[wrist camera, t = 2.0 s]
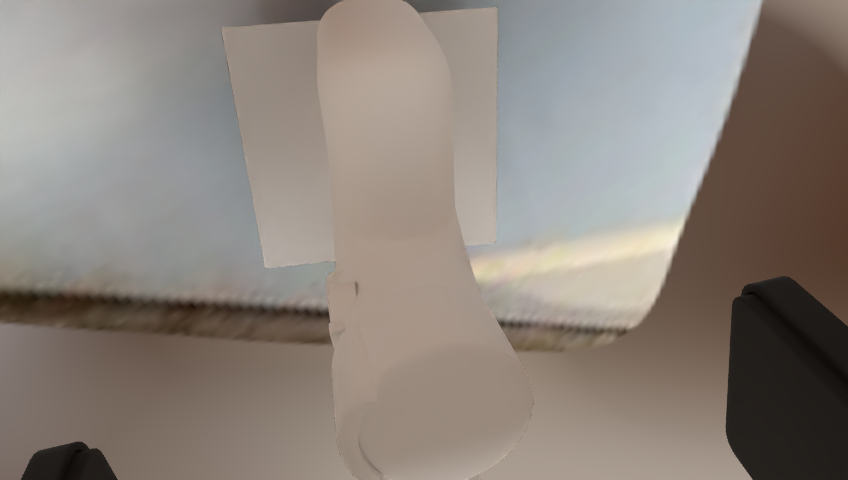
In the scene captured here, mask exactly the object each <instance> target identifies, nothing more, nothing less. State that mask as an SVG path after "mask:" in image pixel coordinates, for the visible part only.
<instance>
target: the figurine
mask: <svg viewBox="0 0 848 480" xmlns="http://www.w3.org/2000/svg"><path fill="white" fill-rule="evenodd" d="M221 31H222V37H223V42H224V47H225V53H226V58H227V64H228V69H229V74H230V80H231V85H232V91H233V96H234V101H235V107H236V112H237V118H238V123H239V128H240V134H241V139H242V145H243V150H244V155H245V161H246V166H247V172H248V177H249V183H250V188H251V193H252V199H253V204H254V210H255V215H256V220H257V226H258V231H259V237H260V242H261V247H262V253H263V258H264V264H265V268H273V267H282V266H291V265H300V264H309V263H318V262H327V261H335V266H336V270H335V271H333V272H331V273H329V275H328V276H327V278H326V289H327V299H328V308H329V315H330V322H331V323H329V333H330V337H331V341H332V345H333V348H334V349H335V350H334V355H333V359H332V382H333V395H334V407H335V428H336V436H337V437H336V440H337V446H338V450H339V454H340V456H341V458H342V460H343V461H344V463H345V465H346V466H347V468H348V469H349V470H350V472H351V473H352V475H353V476H355V477H356V478H357V479H359V480H481V479H480V475H479V474H480V473H482V472H484V471H486V470H488V469H489V468H491V467H492V466H494V465H495V464H496V463H498V462H499V461H501V460H502V458H504V457H505V456H506V455H507V454H508V453H509V452H510V451H511V450H512V449H513V448H514V447H515V445H516V444H517V443H518V442H519V440H520V439H521V437H522V436H523V434H524V432H525V431H526V429H527V426H528V424H529V421H530V419H531V416H532V411H533V405H534V400H533V388H532V384H531V381H530V378H529V376H528V374H527V372H526V371H525V368H524V367H523V365H522V363H521V362H520V360H519V358H518V356H517V355H516V353H515V351H514V349H513V348H512V346H511V344H510V343H509V341H508V339H507V337H506V336H505V334H504V332H503V331H502V329H501V327H500V325H499V324H498V322H497V320H496V319H495V317H494V315H493V313H492V312H491V311H490V310H489V309H488V307H487V306H486V304H485V302H484V300H483V298H482V295H481V293H480V290H479V288H478V285H477V282H476V280H475V277H474V274H473V271H472V268H471V265H470V262H469V258H468V255H467V251H466V248H465V246H470V245H479V244H488V243H496V189H497V67H498V7H489V8H476V9H462V10H449V11H436V12H423V13H418V12H417V11H416V10H415V9H414V8H413V7H412V6H411V5H409V4H408V3H407V2H405V1H403V0H343V1H340V2H338V3H336V4H335V5H333V6H332V7H331V8H329V9H328V10H327V11H326V13H325V14H324V15H323V17H322V19H321V20H317V21H304V22H290V23H277V24H264V25H251V26H237V27H224V28H221Z"/></svg>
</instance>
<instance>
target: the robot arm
mask: <svg viewBox="0 0 848 480" xmlns="http://www.w3.org/2000/svg"><path fill="white" fill-rule="evenodd" d="M726 434H727V439H728V442H729V444H730V446H731V449H732V451H733V452H734V454H735V455H736V457H737V458H738V460H739V461H740V462H741V464H742V465H743V467H744V468H745V469H746V471H747V472H748V473H749V475H750V476H751V478H752V479H753V480H848V326H847V325H845V324H844V323H843V322H842V321H841V320H840V319H838V318H837V317H836V316H835V315H834V314H833V313H831V312H830V311H829V310H828V309H827V308H825V307H824V306H823V305H822V304H821V303H820V302H819V301H818V300H816V299H815V298H814V297H813V296H812V295H811V294H809V293H808V292H807V291H806V290H804V288H802V287H801V286H800V285H799V284H798V283H797V282H795V281H794V280H793V279H791V278H790V277H786V276H782V277H777V278H773V279H769V280H764V281H761V282H756V283H752V284H748V285H746V286H745V287H744V288H743V290H742V294H741V296H740V297H737V298H735V299H734V301H733V304H732V317H731V336H730V356H729V375H728V394H727V413H726ZM21 480H117V478H116V476H115V474H114V473H113V471H112V469H111V467H110V466H109V464H108V462H107V460H106V459H105V457H104V455H103V454H102V452H101V451H100V450H98V449H97V448H96V449H89V448H88V446H87V445H86V444H84V443H83V442H74V443H70V444H65V445H61V446H57V447H52V448H48V449H44V450H40V451H38V452H36V453H35V454H34V455H33V457H32V458H31V459H30V462H29V464H28V466H27V468H26V470H25V472H24V474H23V477H22V478H21Z"/></svg>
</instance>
